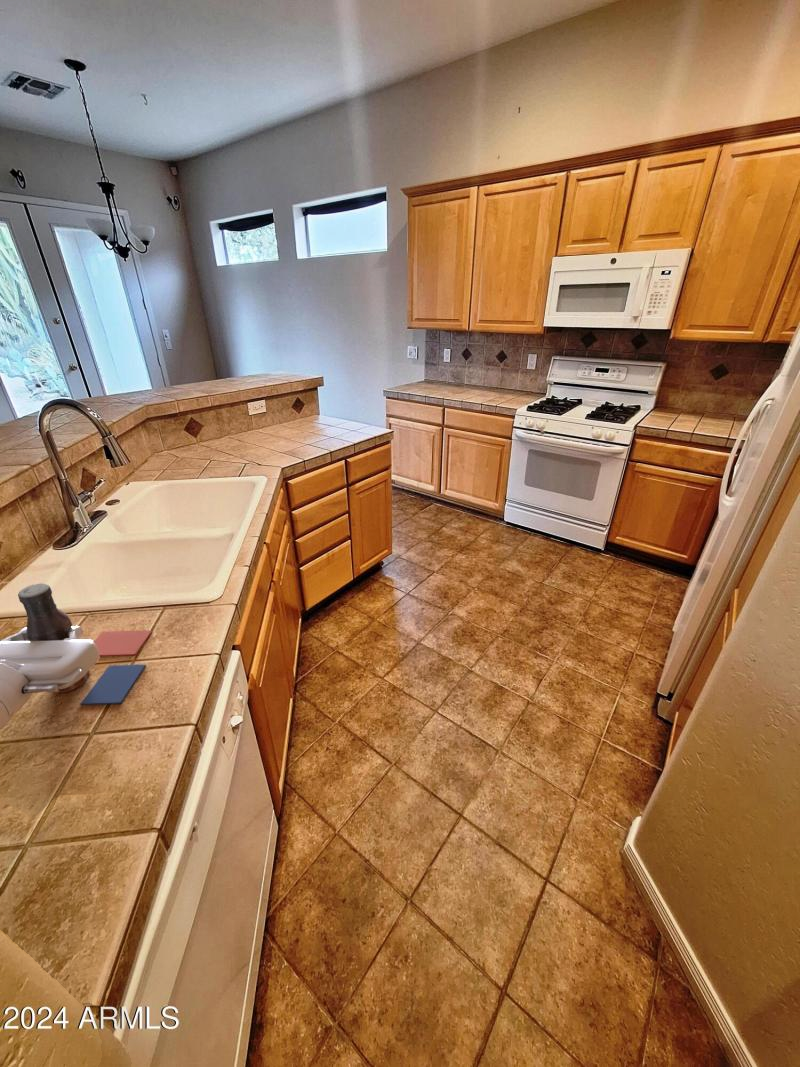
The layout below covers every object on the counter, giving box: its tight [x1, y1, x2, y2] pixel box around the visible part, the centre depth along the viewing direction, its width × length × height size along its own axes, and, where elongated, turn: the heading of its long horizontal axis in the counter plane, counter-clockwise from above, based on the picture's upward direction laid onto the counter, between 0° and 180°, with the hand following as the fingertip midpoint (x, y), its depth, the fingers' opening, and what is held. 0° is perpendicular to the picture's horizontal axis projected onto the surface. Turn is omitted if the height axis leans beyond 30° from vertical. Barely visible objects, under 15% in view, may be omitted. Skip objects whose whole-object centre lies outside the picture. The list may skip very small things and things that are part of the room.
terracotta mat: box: [93, 629, 153, 658], centre depth 86 cm, size 10×7×1 cm
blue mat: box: [80, 664, 147, 706], centre depth 76 cm, size 7×9×1 cm
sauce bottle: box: [17, 582, 91, 693], centre depth 72 cm, size 7×6×20 cm
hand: (54, 629), depth 73 cm, fingers closed on sauce bottle, 6 cm apart
